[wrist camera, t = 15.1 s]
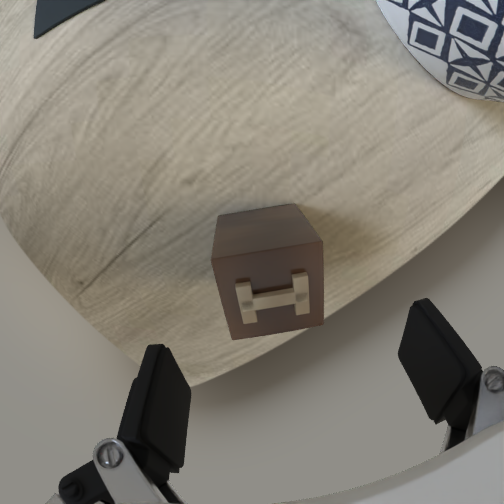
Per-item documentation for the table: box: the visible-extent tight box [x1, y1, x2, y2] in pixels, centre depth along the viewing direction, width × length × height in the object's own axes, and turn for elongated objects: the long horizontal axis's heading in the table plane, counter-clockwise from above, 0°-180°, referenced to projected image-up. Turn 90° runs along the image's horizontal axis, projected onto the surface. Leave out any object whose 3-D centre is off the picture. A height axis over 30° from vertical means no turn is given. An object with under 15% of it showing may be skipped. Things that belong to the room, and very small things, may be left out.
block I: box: [211, 204, 324, 340], centre depth 15 cm, size 5×5×6 cm
